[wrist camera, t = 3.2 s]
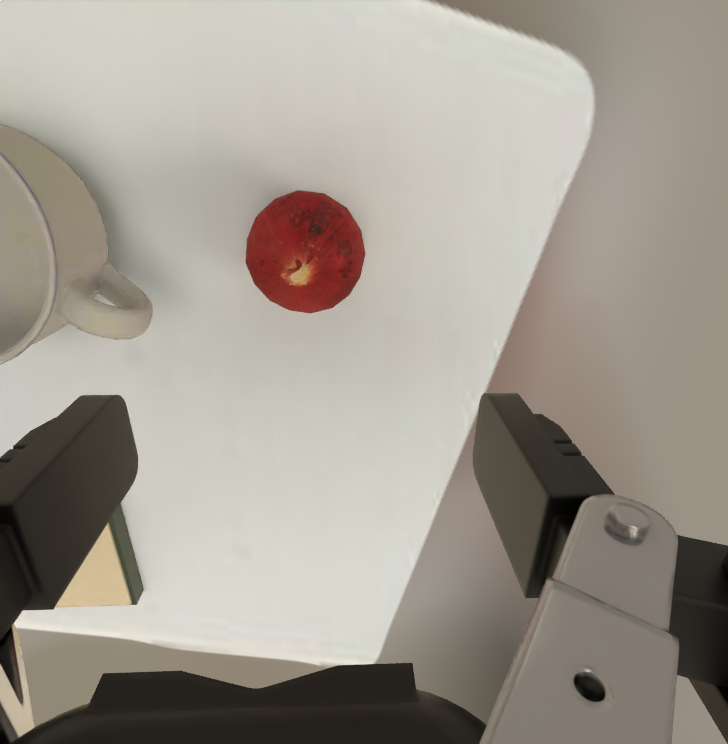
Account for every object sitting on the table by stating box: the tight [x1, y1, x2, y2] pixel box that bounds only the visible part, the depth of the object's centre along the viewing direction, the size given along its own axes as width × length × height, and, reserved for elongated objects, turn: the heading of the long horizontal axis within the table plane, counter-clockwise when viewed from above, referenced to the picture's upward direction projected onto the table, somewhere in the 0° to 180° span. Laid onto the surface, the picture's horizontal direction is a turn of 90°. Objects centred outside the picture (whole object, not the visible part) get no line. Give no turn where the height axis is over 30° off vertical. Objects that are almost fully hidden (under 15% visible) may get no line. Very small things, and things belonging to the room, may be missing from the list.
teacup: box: [0, 124, 153, 364], centre depth 22 cm, size 14×11×8 cm
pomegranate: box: [246, 191, 365, 313], centre depth 23 cm, size 6×6×8 cm
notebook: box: [55, 505, 143, 607], centre depth 34 cm, size 15×11×2 cm
